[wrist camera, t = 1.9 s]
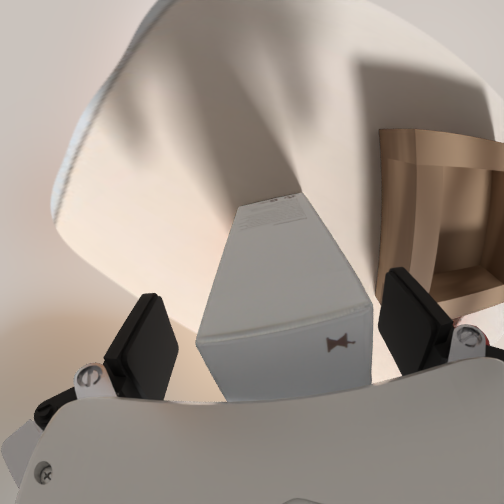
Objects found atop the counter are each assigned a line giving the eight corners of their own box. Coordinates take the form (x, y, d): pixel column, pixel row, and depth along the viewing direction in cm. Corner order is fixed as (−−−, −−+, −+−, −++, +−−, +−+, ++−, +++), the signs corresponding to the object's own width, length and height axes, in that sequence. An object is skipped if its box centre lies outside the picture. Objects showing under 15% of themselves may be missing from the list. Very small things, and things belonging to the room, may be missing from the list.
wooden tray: (496, 143, 13) (533, 151, 9) (481, 275, 18) (509, 300, 14) (378, 129, 14) (414, 128, 10) (375, 295, 19) (397, 332, 15)
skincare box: (235, 205, 17) (186, 337, 6) (303, 190, 16) (382, 299, 5) (258, 289, 19) (253, 450, 8) (318, 276, 18) (368, 431, 7)
